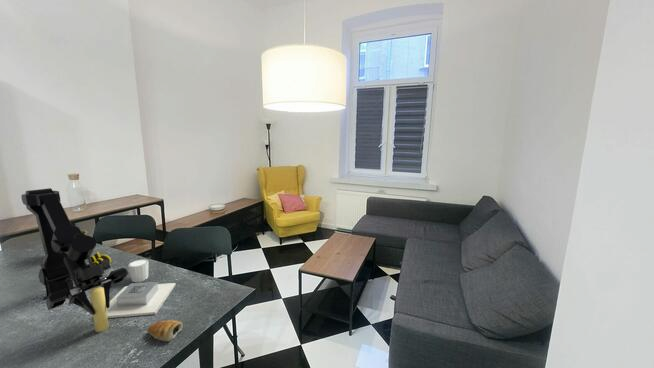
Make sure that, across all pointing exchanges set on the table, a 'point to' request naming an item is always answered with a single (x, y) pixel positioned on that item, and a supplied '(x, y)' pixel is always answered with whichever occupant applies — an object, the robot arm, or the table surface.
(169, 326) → the pastry
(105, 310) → the pin
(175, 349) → the table surface
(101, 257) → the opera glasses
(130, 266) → the white short cylinder
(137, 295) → the metal collar
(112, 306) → the base plate
